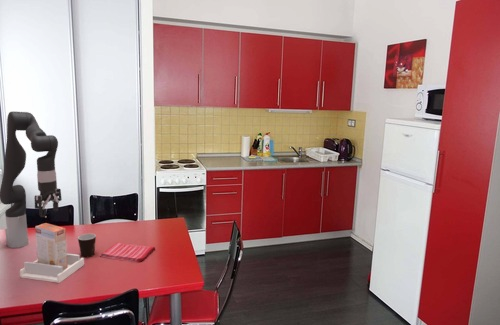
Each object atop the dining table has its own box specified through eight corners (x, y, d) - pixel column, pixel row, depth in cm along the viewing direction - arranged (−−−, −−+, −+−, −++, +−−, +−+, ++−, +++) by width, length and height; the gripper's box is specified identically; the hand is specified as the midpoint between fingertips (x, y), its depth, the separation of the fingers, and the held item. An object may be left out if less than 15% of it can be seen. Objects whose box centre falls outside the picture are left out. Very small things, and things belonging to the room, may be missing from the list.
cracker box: (68, 269, 175) (66, 227, 171) (57, 274, 170) (54, 231, 166) (49, 262, 181) (46, 222, 177) (37, 267, 176) (34, 225, 172)
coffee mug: (90, 259, 189) (89, 240, 187) (75, 257, 190) (74, 238, 188) (103, 249, 200) (102, 232, 198) (89, 248, 202) (88, 230, 200)
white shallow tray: (20, 277, 169) (19, 264, 168) (48, 260, 186) (47, 248, 185) (59, 282, 165) (58, 270, 164) (84, 264, 183) (83, 253, 181)
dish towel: (141, 263, 187) (141, 259, 186) (99, 258, 191) (99, 253, 191) (156, 250, 203) (156, 245, 203) (117, 245, 208) (117, 240, 207)
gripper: (50, 175, 174) (53, 208, 178) (27, 182, 161) (30, 218, 164) (65, 176, 173) (67, 209, 176) (43, 184, 159) (45, 219, 163)
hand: (49, 213), depth 170 cm, fingers open, 8 cm apart
